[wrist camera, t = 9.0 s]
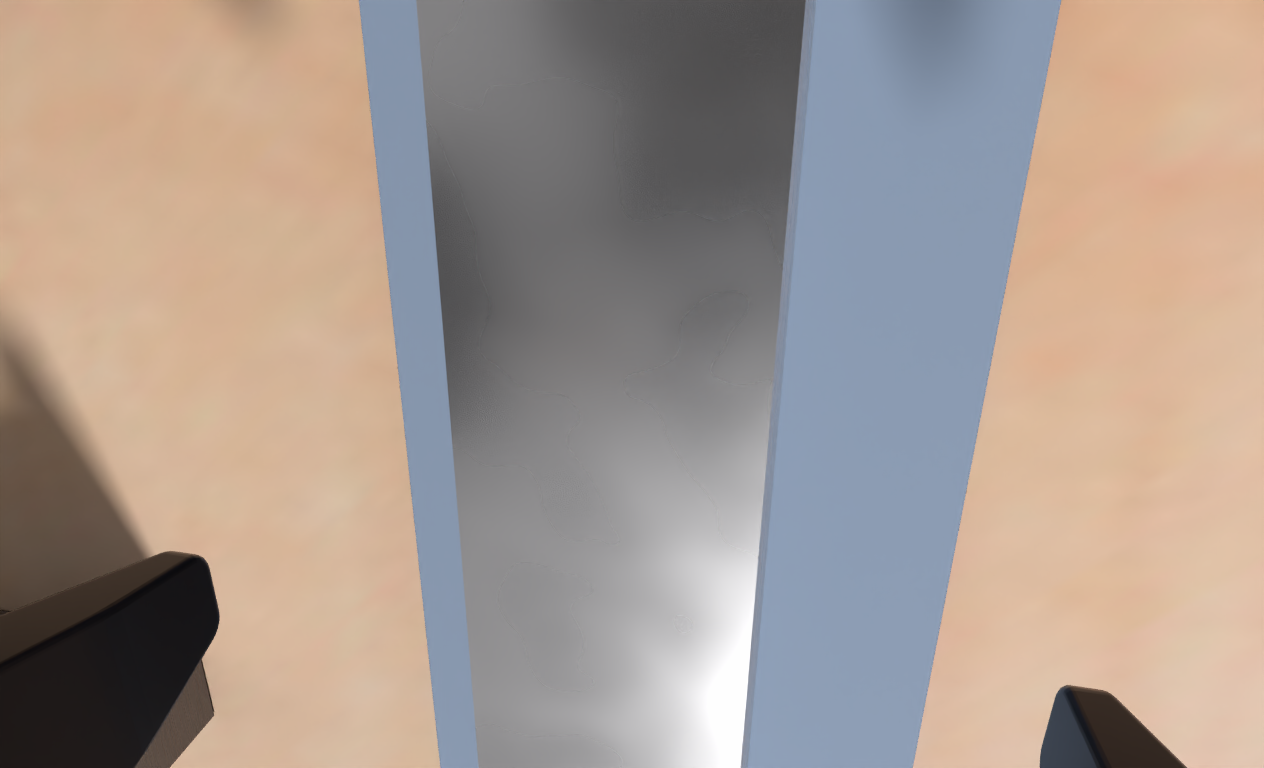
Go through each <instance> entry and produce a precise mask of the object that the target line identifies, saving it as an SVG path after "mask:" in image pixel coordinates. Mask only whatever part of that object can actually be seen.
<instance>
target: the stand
mask: <svg viewBox="0 0 1264 768" xmlns="http://www.w3.org/2000/svg"><path fill="white" fill-rule="evenodd" d="M6 613H8V612H7V611H1V610H0V616H1V615H3V614H6ZM213 716H214V713H213V709H212V705H211V700H210V696H209V692H208V688H207V684H206V680H205V676H204V672H203V667H202V663H201V661H200V662H199V664H198V666H197V667H196V669H195V671H194V673H193V674H192V676H191V678H190V679H189V681H188V683H187V684H186V686H185V688H184V689H183V691H182V693H181V694H180V696H179V698H178V700H177V701H176V703H175V705H174V706H173V708H172V710H171V711H170V713H169V715H168V716H167V718H166V720H165V722H164V723H163V725H162V727H161V728H160V730H159V732H158V733H157V735H156V737H155V738H154V740H153V741H152V743H151V745H150V746H149V748H148V749H147V751H146V753H145V754H144V756H143V757H142V759H141V760H140V762H139V763H138V765H137V766H136V767H135V768H170V767H171V765H172V764H173V763H174V762H175V761H176V760H177V758H178V757H179V756H180V755H181V754H182V752H183V751H184V750H185V749H186V748H187V747H188V745H189V744H190V743H191V742H192V741H193V740H194V738H195V737H196V736H197V735H198V734H199V732H200V731H201V730H202V729H203V728H204V727H205V725H206V724H207V723H208V722H209V721H210V720H211V718H212V717H213Z"/></svg>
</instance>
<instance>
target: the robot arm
mask: <svg viewBox="0 0 1264 768" xmlns="http://www.w3.org/2000/svg"><path fill="white" fill-rule="evenodd" d="M218 625H219V609H218V604H217V600H216V595H215V591H214V586H213V582H212V577H211V573H210V569H209V565H208V563H207V562H206V560H205V559H204V558H203V557H201V556H199V555H195V554H189V553H182V552H175V551H168V552H163V553H160V554H158V555H155V556H152V557H150V558H147V559H145V560H142V561H140V562H137V563H134V564H132V565H129V566H127V567H124V568H121V569H119V570H116V571H114V572H111V573H109V574H106V575H103V576H101V577H98V578H96V579H93V580H91V581H88V582H85V583H83V584H80V585H78V586H75V587H73V588H70V589H67V590H65V591H62V592H60V593H57V594H55V595H52V596H49V597H47V598H44V599H42V600H39V601H37V602H34V603H31V604H29V605H26V606H24V607H21V608H19V609H16V610H13V611H11V612H8V613H6V614H3V615H1V616H0V768H135V767H136V766H137V765H138V763H139V762H140V760H141V759H142V757H143V756H144V754H145V753H146V751H147V749H148V748H149V746H150V745H151V743H152V741H153V740H154V738H155V737H156V735H157V733H158V732H159V730H160V728H161V727H162V725H163V723H164V722H165V720H166V718H167V716H168V715H169V713H170V711H171V710H172V708H173V706H174V705H175V703H176V701H177V700H178V698H179V696H180V694H181V693H182V691H183V689H184V688H185V686H186V684H187V683H188V681H189V679H190V678H191V676H192V674H193V673H194V671H195V669H196V667H197V666H198V664H199V662H200V661H201V659H202V657H203V656H204V654H205V652H206V651H207V649H208V647H209V645H210V644H211V642H212V640H213V639H214V637H215V635H216V632H217V629H218ZM1040 768H1187V767H1186V766H1185V765H1184V764H1183V763H1182V762H1181V761H1180V760H1179V759H1178V758H1177V757H1176V756H1175V755H1174V754H1173V753H1172V752H1171V751H1170V750H1168V749H1167V748H1166V747H1165V746H1164V745H1163V744H1162V743H1161V742H1160V741H1159V740H1158V739H1157V738H1156V737H1155V736H1154V735H1153V734H1152V733H1151V732H1150V731H1149V730H1148V729H1147V728H1146V727H1145V726H1144V725H1143V724H1142V723H1141V722H1140V721H1139V720H1138V719H1137V718H1136V717H1135V716H1134V715H1133V714H1132V713H1131V712H1130V711H1129V710H1128V709H1127V708H1126V707H1125V706H1124V705H1123V704H1122V703H1121V702H1120V701H1119V700H1117V699H1116V698H1115V697H1114V696H1113V695H1112V694H1110V693H1108V692H1106V691H1103V690H1098V689H1091V688H1085V687H1078V686H1071V685H1066V686H1064V687H1062V688H1060V690H1059V691H1058V693H1057V694H1056V697H1055V700H1054V704H1053V708H1052V711H1051V715H1050V719H1049V722H1048V726H1047V730H1046V733H1045V737H1044V740H1043V744H1042V748H1041V755H1040Z"/></svg>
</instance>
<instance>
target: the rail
mask: <svg viewBox="0 0 1264 768" xmlns="http://www.w3.org/2000/svg"><path fill="white" fill-rule="evenodd" d="M816 1H817V0H416V5H417V17H418V29H419V42H420V54H421V66H422V79H423V91H424V103H425V115H426V128H427V140H428V152H429V164H430V177H431V189H432V201H433V214H434V226H435V238H436V250H437V263H438V275H439V287H440V300H441V312H442V324H443V336H444V349H445V361H446V373H447V386H448V398H449V410H450V422H451V435H452V447H453V459H454V472H455V484H456V496H457V508H458V521H459V533H460V545H461V558H462V570H463V582H464V594H465V607H466V619H467V631H468V643H469V656H470V668H471V680H472V693H473V705H474V717H475V729H476V742H477V754H478V766H479V768H748V759H749V748H750V737H751V726H752V714H753V703H754V692H755V681H756V670H757V659H758V648H759V636H760V625H761V614H762V603H763V592H764V581H765V569H766V558H767V547H768V536H769V525H770V514H771V502H772V491H773V480H774V469H775V458H776V447H777V436H778V424H779V413H780V402H781V391H782V380H783V369H784V357H785V346H786V335H787V324H788V313H789V302H790V291H791V279H792V268H793V257H794V246H795V235H796V224H797V212H798V201H799V190H800V179H801V168H802V157H803V146H804V134H805V123H806V112H807V101H808V90H809V79H810V67H811V56H812V45H813V34H814V23H815V12H816Z"/></svg>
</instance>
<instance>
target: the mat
mask: <svg viewBox="0 0 1264 768" xmlns="http://www.w3.org/2000/svg"><path fill="white" fill-rule="evenodd" d="M1060 4H1061V0H817V1H816V12H815V23H814V34H813V45H812V56H811V67H810V79H809V90H808V101H807V112H806V123H805V134H804V146H803V157H802V168H801V179H800V190H799V201H798V212H797V224H796V235H795V246H794V257H793V268H792V279H791V291H790V302H789V313H788V324H787V335H786V346H785V357H784V369H783V380H782V391H781V402H780V413H779V424H778V436H777V447H776V458H775V469H774V480H773V491H772V502H771V514H770V525H769V536H768V547H767V558H766V569H765V581H764V592H763V603H762V614H761V625H760V636H759V648H758V659H757V670H756V681H755V692H754V703H753V714H752V726H751V737H750V748H749V759H748V768H913V763H914V758H915V753H916V748H917V742H918V737H919V732H920V727H921V722H922V717H923V711H924V706H925V701H926V696H927V691H928V686H929V680H930V675H931V670H932V665H933V660H934V655H935V649H936V644H937V639H938V634H939V629H940V624H941V618H942V613H943V608H944V603H945V598H946V593H947V587H948V582H949V577H950V572H951V567H952V562H953V556H954V551H955V546H956V541H957V536H958V531H959V525H960V520H961V515H962V510H963V505H964V500H965V494H966V489H967V484H968V479H969V474H970V469H971V463H972V458H973V453H974V448H975V443H976V438H977V432H978V427H979V422H980V417H981V412H982V407H983V402H984V396H985V391H986V386H987V381H988V376H989V371H990V365H991V360H992V355H993V350H994V345H995V340H996V334H997V329H998V324H999V319H1000V314H1001V309H1002V303H1003V298H1004V293H1005V288H1006V283H1007V278H1008V272H1009V267H1010V262H1011V257H1012V252H1013V247H1014V241H1015V236H1016V231H1017V226H1018V221H1019V216H1020V210H1021V205H1022V200H1023V195H1024V190H1025V185H1026V179H1027V174H1028V169H1029V164H1030V159H1031V154H1032V148H1033V143H1034V138H1035V133H1036V128H1037V123H1038V117H1039V112H1040V107H1041V102H1042V97H1043V92H1044V86H1045V81H1046V76H1047V71H1048V66H1049V61H1050V56H1051V50H1052V45H1053V40H1054V35H1055V30H1056V25H1057V19H1058V14H1059V9H1060ZM359 5H360V15H361V24H362V33H363V43H364V52H365V62H366V71H367V80H368V90H369V99H370V109H371V118H372V127H373V137H374V146H375V156H376V165H377V174H378V184H379V193H380V203H381V212H382V221H383V231H384V240H385V250H386V259H387V269H388V278H389V287H390V297H391V306H392V316H393V325H394V334H395V344H396V353H397V363H398V372H399V381H400V391H401V400H402V410H403V419H404V428H405V438H406V447H407V457H408V466H409V475H410V485H411V494H412V504H413V513H414V522H415V532H416V541H417V551H418V560H419V570H420V579H421V588H422V598H423V607H424V617H425V626H426V635H427V645H428V654H429V664H430V673H431V682H432V692H433V701H434V711H435V720H436V729H437V739H438V748H439V758H440V767H441V768H479V766H478V754H477V742H476V729H475V717H474V705H473V693H472V680H471V668H470V656H469V643H468V631H467V619H466V607H465V594H464V582H463V570H462V558H461V545H460V533H459V521H458V508H457V496H456V484H455V472H454V459H453V447H452V435H451V422H450V410H449V398H448V386H447V373H446V361H445V349H444V336H443V324H442V312H441V300H440V287H439V275H438V263H437V250H436V238H435V226H434V214H433V201H432V189H431V177H430V164H429V152H428V140H427V128H426V115H425V103H424V91H423V79H422V66H421V54H420V42H419V29H418V17H417V5H416V0H359Z"/></svg>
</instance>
